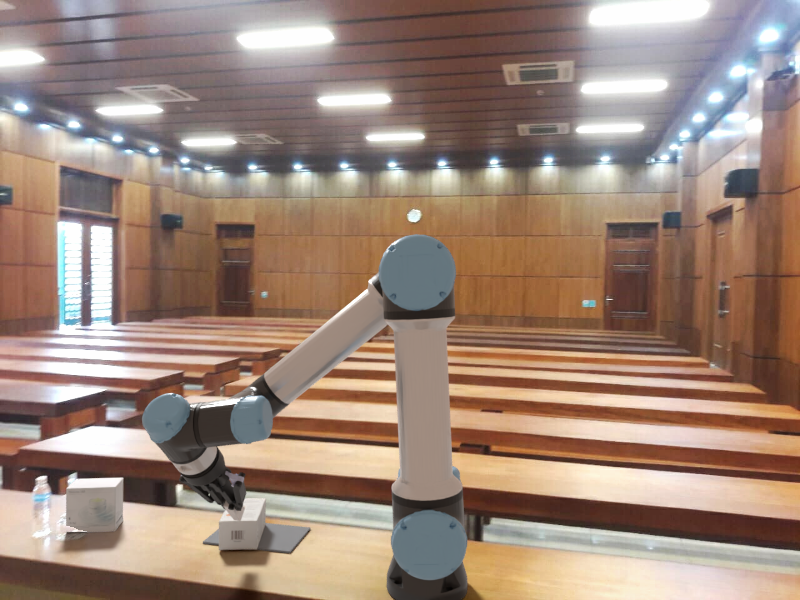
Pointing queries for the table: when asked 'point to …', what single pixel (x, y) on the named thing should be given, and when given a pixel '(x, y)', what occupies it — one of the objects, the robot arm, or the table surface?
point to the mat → (273, 537)
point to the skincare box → (95, 504)
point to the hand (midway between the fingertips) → (239, 514)
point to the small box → (243, 526)
